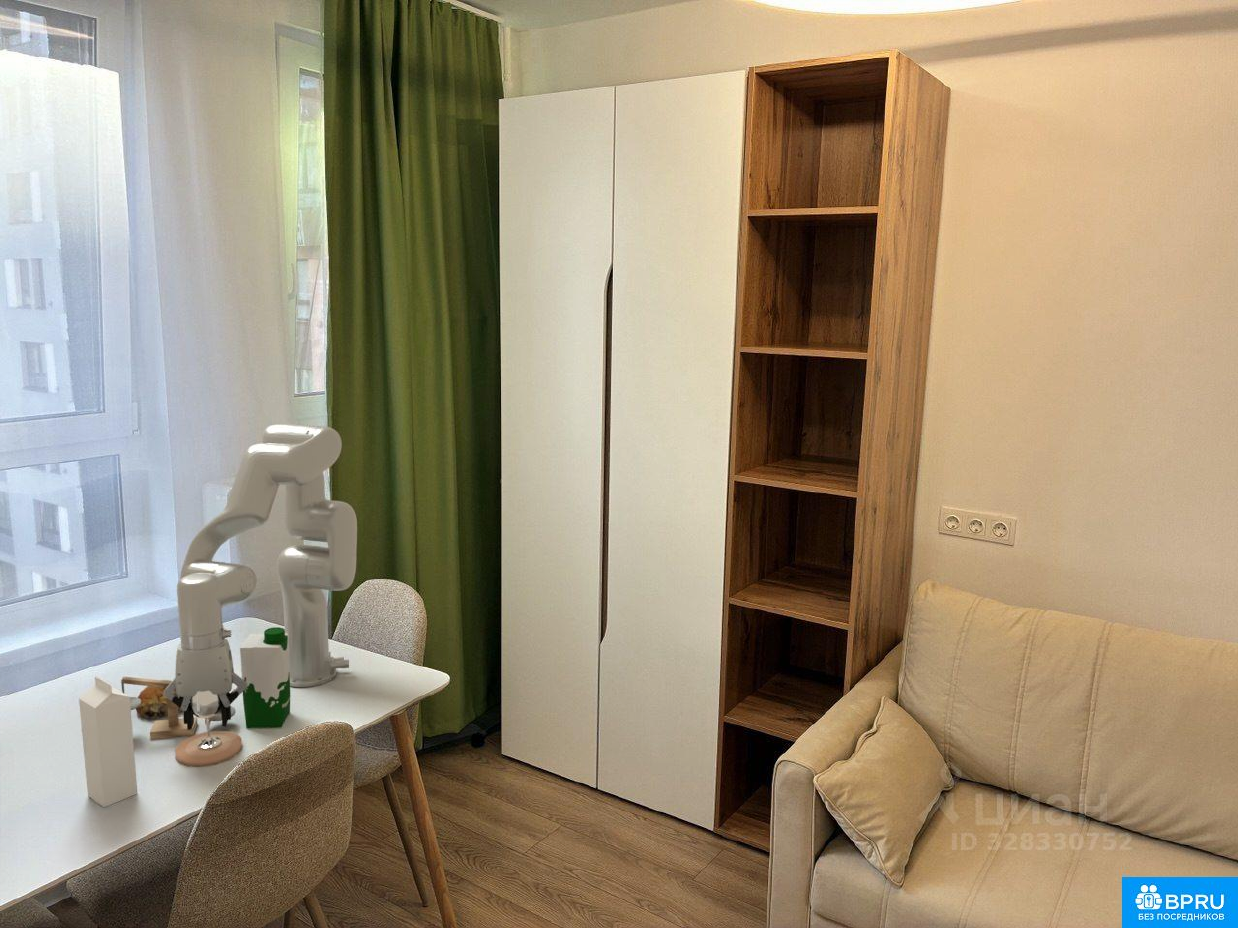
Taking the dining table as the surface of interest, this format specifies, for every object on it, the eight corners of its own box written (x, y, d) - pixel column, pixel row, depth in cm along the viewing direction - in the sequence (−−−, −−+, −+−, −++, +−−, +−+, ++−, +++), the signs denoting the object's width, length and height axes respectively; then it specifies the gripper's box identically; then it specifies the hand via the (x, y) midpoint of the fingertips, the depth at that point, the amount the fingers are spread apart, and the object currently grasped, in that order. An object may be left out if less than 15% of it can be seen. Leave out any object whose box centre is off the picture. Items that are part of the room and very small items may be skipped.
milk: (121, 782, 172) (112, 670, 168) (138, 793, 169) (129, 679, 164) (86, 796, 167) (77, 680, 163) (103, 808, 164) (93, 690, 160)
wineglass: (230, 736, 186) (227, 680, 184) (215, 751, 181) (211, 693, 178) (203, 734, 187) (199, 678, 184) (187, 749, 181) (182, 691, 179)
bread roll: (193, 722, 203) (202, 684, 205) (158, 722, 194) (168, 682, 195) (157, 714, 206) (166, 677, 208) (121, 713, 197) (131, 675, 198)
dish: (245, 733, 191) (244, 727, 191) (238, 762, 180) (237, 756, 180) (181, 739, 188) (181, 733, 188) (170, 769, 177) (169, 763, 177)
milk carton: (284, 729, 193) (280, 638, 189) (239, 730, 192) (234, 639, 188) (295, 710, 202) (291, 622, 198) (252, 711, 201) (247, 623, 197)
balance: (237, 718, 197) (234, 663, 195) (234, 732, 192) (230, 675, 189) (114, 730, 191) (109, 672, 189) (106, 744, 185) (101, 685, 183)
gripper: (252, 627, 185) (256, 711, 189) (157, 634, 181) (163, 720, 184) (247, 641, 178) (252, 729, 182) (148, 649, 174) (156, 738, 177)
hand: (208, 723), depth 183 cm, fingers closed on wineglass, 5 cm apart
